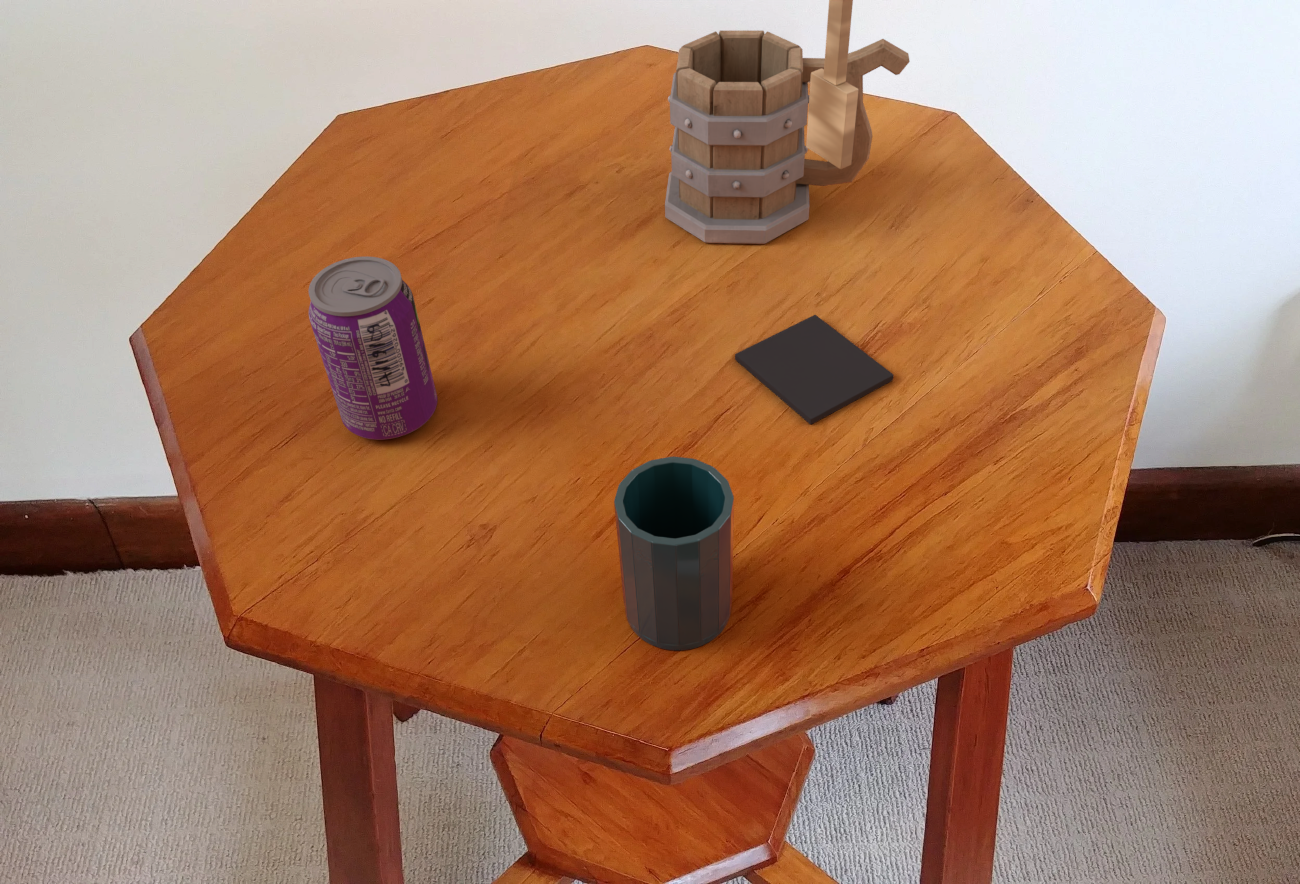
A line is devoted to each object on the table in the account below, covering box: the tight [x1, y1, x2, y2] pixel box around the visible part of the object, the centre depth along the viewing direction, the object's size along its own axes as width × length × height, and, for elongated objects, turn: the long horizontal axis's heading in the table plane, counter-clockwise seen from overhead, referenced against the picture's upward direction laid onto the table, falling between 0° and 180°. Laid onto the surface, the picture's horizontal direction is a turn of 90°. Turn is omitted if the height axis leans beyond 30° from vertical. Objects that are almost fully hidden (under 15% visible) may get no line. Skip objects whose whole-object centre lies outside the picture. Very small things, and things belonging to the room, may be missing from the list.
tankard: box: [664, 30, 910, 245], centre depth 95 cm, size 20×13×15 cm, turn 85°
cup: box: [613, 456, 735, 652], centre depth 66 cm, size 7×7×10 cm
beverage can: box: [308, 256, 438, 440], centre depth 79 cm, size 7×7×12 cm
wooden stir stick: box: [805, 0, 858, 169], centre depth 65 cm, size 3×1×20 cm, turn 34°
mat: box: [734, 314, 895, 425], centre depth 85 cm, size 9×8×1 cm
